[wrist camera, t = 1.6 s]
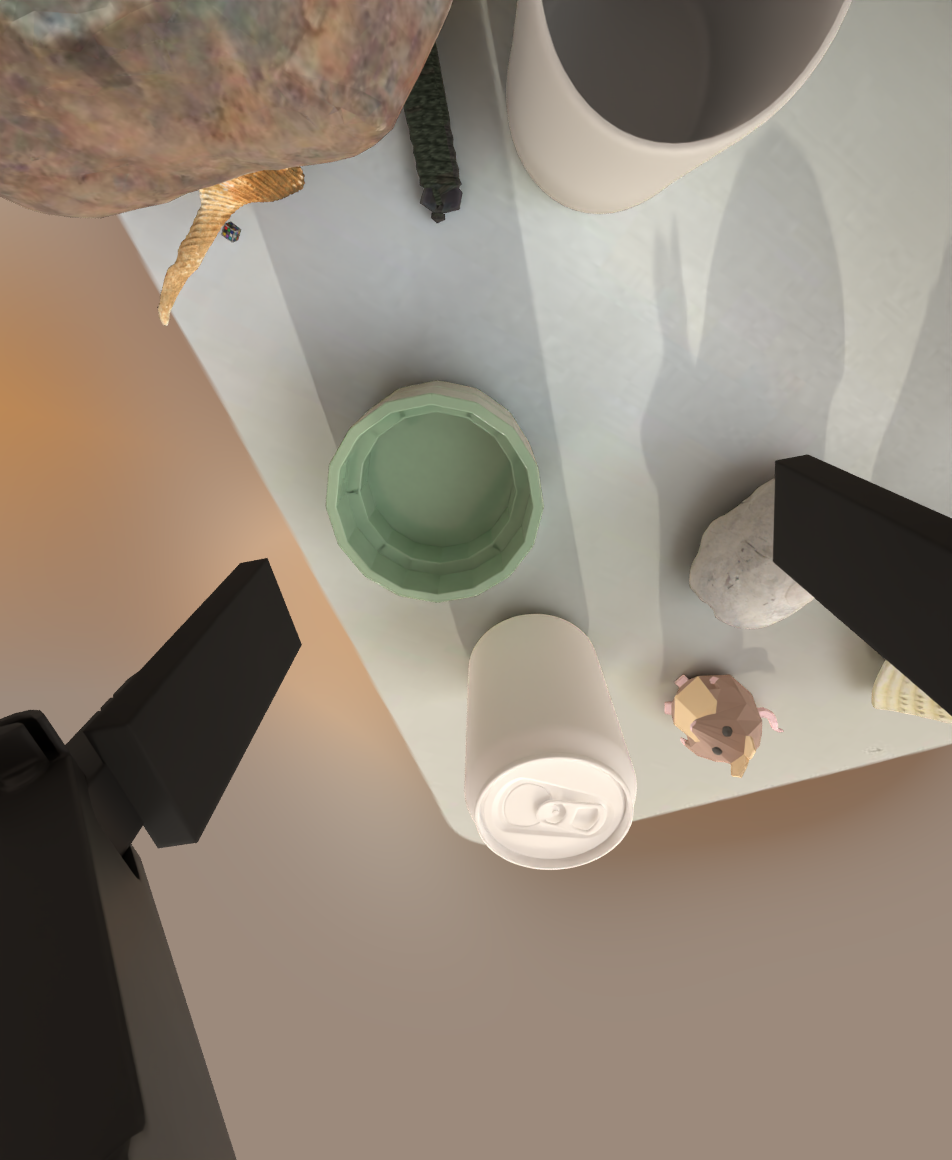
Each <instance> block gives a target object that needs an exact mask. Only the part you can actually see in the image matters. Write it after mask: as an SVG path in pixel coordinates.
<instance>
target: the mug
mask: <svg viewBox="0 0 952 1160" xmlns="http://www.w3.org/2000/svg"><path fill="white" fill-rule="evenodd" d="M851 2H852V0H517V8H516V16H515V25H514V33H513V41H512V47H511V52H510V58H509V64H508V71H507V84H506V99H507V114H508V121H509V127H510V131H511V135H512V139H513V142H514V145H515V148H516V150H517V153H518V156H519V157H520V159H521V161H522V163H523V165H524V167H525V169H526V170H527V172H528V173H529V175H530V176H531V178H532V179H533V180H534V182H535V183H536V184H537V185H538V186H539V187H540V188H541V189H542V190H543V191H544V192H545V193H546V194H547V195H549V196H550V197H551V198H552V199H554V200H555V201H557V202H559V203H560V204H562V205H564V206H566V207H569V208H571V209H573V210H576V211H581V212H585V213H593V214H607V213H615V212H619V211H624V210H627V209H629V208H632V207H634V206H637V205H639V204H641V203H643V202H645V201H647V200H649V199H650V198H652V197H654V196H655V195H657V194H658V193H659V192H661V191H662V190H663V189H665V188H666V187H668V186H669V185H670V184H672V183H673V182H675V181H676V180H678V179H680V178H681V177H683V176H684V175H686V174H687V173H689V172H691V171H692V170H694V169H695V168H697V167H699V166H700V165H702V164H703V163H705V162H706V161H708V160H710V159H711V158H713V157H714V156H716V155H718V154H719V153H721V152H722V151H724V150H725V149H727V148H729V147H730V146H732V145H733V144H735V143H736V142H738V141H740V140H741V139H743V138H744V137H746V136H747V135H748V134H750V133H751V132H752V131H754V130H755V129H757V128H758V127H759V126H761V125H762V124H763V123H765V122H766V121H767V120H768V119H770V118H771V117H772V116H773V115H774V114H775V113H776V112H777V111H778V110H779V109H780V108H782V107H783V106H784V105H785V104H786V103H787V102H788V101H789V100H790V98H791V97H792V96H793V95H794V94H795V93H796V92H797V91H798V89H799V88H800V87H801V86H802V85H803V84H804V83H805V82H806V80H807V79H808V77H809V76H810V75H811V73H812V72H813V71H814V69H815V68H816V66H817V65H818V64H819V62H820V61H821V59H822V58H823V56H824V54H825V53H826V51H827V49H828V48H829V46H830V44H831V43H832V41H833V39H834V38H835V36H836V34H837V32H838V30H839V28H840V26H841V24H842V22H843V19H844V17H845V15H846V13H847V11H848V9H849V7H850V5H851Z"/></svg>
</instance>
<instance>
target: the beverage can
mask: <svg viewBox="0 0 952 1160" xmlns="http://www.w3.org/2000/svg"><path fill="white" fill-rule="evenodd" d="M464 792H465V800H466V805H467V808H468V811H469V813H470V815H471V817H472V819H473V821H474V822H475V824H476V828H477V831H478V833H479V835H480V837H481V839H482V840H483V842H484V843H485V844H486V845H487V846H488V847H489V848H490V849H491V850H492V851H493V852H494V853H496V854H497V855H499V856H500V857H502V858H504V859H505V860H508V861H510V862H512V863H515V864H517V865H521V866H524V867H529V868H534V869H544V870H556V869H566V868H572V867H576V866H580V865H583V864H586V863H589V862H592V861H594V860H596V859H598V858H600V857H602V856H603V855H605V854H607V853H608V852H609V851H611V850H612V849H613V848H614V847H616V846H617V845H618V844H619V843H620V842H621V840H622V839H623V838H624V837H625V835H626V833H627V832H628V830H629V828H630V825H631V823H632V819H633V812H634V808H633V806H634V803H635V799H636V793H637V780H636V774H635V770H634V767H633V764H632V761H631V758H630V755H629V752H628V749H627V746H626V742H625V739H624V736H623V733H622V730H621V727H620V724H619V721H618V718H617V715H616V712H615V709H614V706H613V703H612V700H611V697H610V694H609V691H608V688H607V685H606V682H605V679H604V676H603V673H602V670H601V667H600V664H599V661H598V657H597V654H596V652H595V649H594V647H593V645H592V643H591V641H590V640H589V638H588V637H587V636H586V635H585V633H584V632H583V631H581V630H580V629H579V628H578V627H576V626H575V625H574V624H572V623H570V622H568V621H566V620H564V619H561V618H559V617H555V616H551V615H545V614H526V615H520V616H516V617H512V618H509V619H507V620H504V621H502V622H500V623H498V624H497V625H495V626H493V627H492V628H491V629H489V630H488V631H487V632H486V633H485V634H484V635H483V636H482V637H481V638H480V639H479V641H478V642H477V644H476V645H475V647H474V649H473V651H472V654H471V657H470V661H469V670H468V698H467V727H466V757H465V787H464Z"/></svg>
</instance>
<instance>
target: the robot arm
mask: <svg viewBox="0 0 952 1160" xmlns="http://www.w3.org/2000/svg"><path fill="white" fill-rule="evenodd" d="M773 563H775V564H776V565H777V566H778V567H779V568H780V569H782V570H783V571H784V572H785V573H786V574H787V575H789V576H790V577H791V578H792V579H793V580H794V581H795V582H797V583H798V584H799V585H800V586H801V587H802V588H804V589H805V590H806V591H807V592H808V593H809V594H811V595H812V596H813V597H814V598H815V599H816V600H817V601H819V602H820V603H821V604H822V605H823V606H824V607H826V608H827V609H828V610H829V611H830V612H831V613H833V614H834V615H835V616H836V617H837V618H838V619H839V620H841V621H842V622H843V623H844V624H845V625H846V626H848V627H849V628H850V629H851V630H852V631H853V632H855V633H856V634H857V635H858V636H859V637H860V638H861V639H863V640H864V641H865V642H866V643H867V644H868V645H870V646H871V647H872V648H873V649H874V650H875V651H877V652H878V653H879V654H880V655H881V656H882V657H883V658H885V659H886V660H887V661H888V662H889V663H890V664H892V665H893V666H894V667H895V668H896V669H897V670H899V671H900V672H901V673H902V674H903V675H904V676H905V677H907V678H908V679H909V680H910V681H911V682H912V683H914V684H915V685H916V686H917V687H918V688H919V689H921V690H922V691H923V692H924V693H925V694H926V695H927V696H929V697H930V698H931V699H932V700H933V701H934V702H936V703H937V704H938V705H939V706H940V707H941V708H943V709H944V710H945V711H946V712H947V713H948V714H950V715H951V716H952V518H949V517H947V516H945V515H943V514H940V513H938V512H936V511H934V510H931V509H929V508H927V507H925V506H922V505H920V504H918V503H916V502H913V501H911V500H909V499H907V498H904V497H902V496H900V495H898V494H895V493H893V492H891V491H889V490H886V489H884V488H882V487H880V486H877V485H875V484H873V483H871V482H868V481H866V480H864V479H862V478H859V477H857V476H855V475H853V474H850V473H848V472H846V471H844V470H841V469H839V468H837V467H835V466H832V465H830V464H828V463H826V462H823V461H821V460H819V459H817V458H815V457H812V456H810V455H803V456H797V457H792V458H787V459H782V460H777V461H775V495H774V532H773ZM301 645H302V644H301V642H300V639H299V637H298V634H297V632H296V629H295V627H294V624H293V621H292V619H291V616H290V614H289V611H288V609H287V606H286V604H285V601H284V599H283V596H282V594H281V591H280V589H279V586H278V584H277V581H276V579H275V576H274V574H273V571H272V569H271V566H270V563H269V561H268V559H267V558H265V559H260V560H254V561H249V562H244V563H240V564H239V565H238V566H237V567H236V568H235V570H233V572H232V573H231V574H230V575H229V576H228V577H227V578H226V579H225V580H224V581H223V582H222V583H221V584H220V585H219V586H218V588H217V589H216V590H215V591H214V592H213V593H212V594H211V595H210V596H209V597H208V598H207V599H206V600H205V601H204V602H203V603H202V605H201V606H200V607H199V608H198V609H197V610H196V611H195V612H194V613H193V614H192V615H191V616H190V617H189V618H188V620H187V621H186V622H185V623H184V624H183V625H182V626H181V627H180V628H179V629H178V630H177V631H176V632H175V633H174V635H173V636H172V637H171V638H170V639H169V640H168V641H167V642H166V643H165V644H164V645H163V646H162V647H161V648H160V649H159V651H158V652H157V653H156V654H155V655H154V656H153V657H152V658H151V659H150V660H149V661H148V662H147V663H146V665H145V666H144V667H143V668H142V669H141V670H140V671H139V672H137V673H136V674H134V675H133V676H132V677H130V678H129V679H128V680H127V681H126V682H125V683H124V684H123V685H122V686H121V687H120V688H119V689H118V690H117V691H116V692H115V693H114V695H113V698H110V699H109V700H108V701H107V702H106V703H105V704H104V705H103V706H102V707H101V711H98V712H96V713H95V714H94V715H93V716H92V718H91V719H90V720H89V721H88V722H87V723H86V724H85V725H84V726H83V727H82V728H81V729H80V730H79V731H78V732H77V733H76V734H75V736H74V737H73V738H72V739H71V740H70V741H69V742H68V743H67V744H66V745H64V743H63V742H62V740H61V739H60V737H59V736H58V734H57V733H56V731H55V730H54V728H53V727H52V725H51V724H50V722H49V721H48V719H47V718H46V716H45V715H44V714H43V713H42V712H41V711H40V710H28V711H23V712H19V713H15V714H12V715H9V716H7V717H4V718H2V719H0V1160H236V1157H235V1154H234V1151H233V1147H232V1144H231V1141H230V1138H229V1135H228V1132H227V1129H226V1125H225V1122H224V1119H223V1116H222V1113H221V1110H220V1106H219V1103H218V1100H217V1097H216V1094H215V1091H214V1088H213V1084H212V1081H211V1078H210V1075H209V1072H208V1069H207V1065H206V1063H205V1059H204V1056H203V1053H202V1050H201V1047H200V1044H199V1040H198V1037H197V1034H196V1031H195V1028H194V1025H193V1022H192V1018H191V1015H190V1012H189V1009H188V1006H187V1003H186V999H185V996H184V993H183V990H182V987H181V984H180V981H179V977H178V974H177V971H176V968H175V965H174V962H173V959H172V956H171V952H170V949H169V946H168V943H167V940H166V937H165V933H164V930H163V927H162V924H161V921H160V918H159V914H158V911H157V908H156V905H155V902H154V899H153V896H152V892H151V890H150V886H149V883H148V880H147V877H146V874H145V871H144V867H143V864H142V861H141V858H140V857H139V855H138V853H137V852H136V850H135V849H134V847H133V846H132V844H131V843H132V841H133V840H134V838H135V837H136V835H137V834H138V832H139V830H140V829H141V827H142V826H144V827H145V829H146V830H147V832H148V834H149V835H150V837H151V838H152V840H153V841H154V843H155V844H156V846H157V847H158V848H163V847H170V846H177V845H183V844H191V843H197V842H198V841H199V838H200V837H201V835H202V833H203V831H204V829H205V827H206V825H207V823H208V822H209V820H210V818H211V816H212V814H213V812H214V810H215V808H216V806H217V804H218V803H219V801H220V799H221V797H222V795H223V793H224V791H225V789H226V787H227V785H228V783H229V782H230V780H231V778H232V776H233V774H234V772H235V770H236V768H237V767H238V765H239V763H240V761H241V759H242V757H243V755H244V753H245V751H246V749H247V748H248V746H249V744H250V742H251V740H252V738H253V736H254V734H255V732H256V730H257V729H258V726H259V725H260V723H261V721H262V719H263V717H264V715H265V713H266V711H267V710H268V708H269V706H270V704H271V702H272V700H273V698H274V696H275V694H276V692H277V691H278V689H279V687H280V685H281V683H282V681H283V679H284V677H285V675H286V673H287V671H288V670H289V668H290V666H291V664H292V662H293V660H294V658H295V656H296V655H297V653H298V651H299V649H300V647H301Z"/></svg>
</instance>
